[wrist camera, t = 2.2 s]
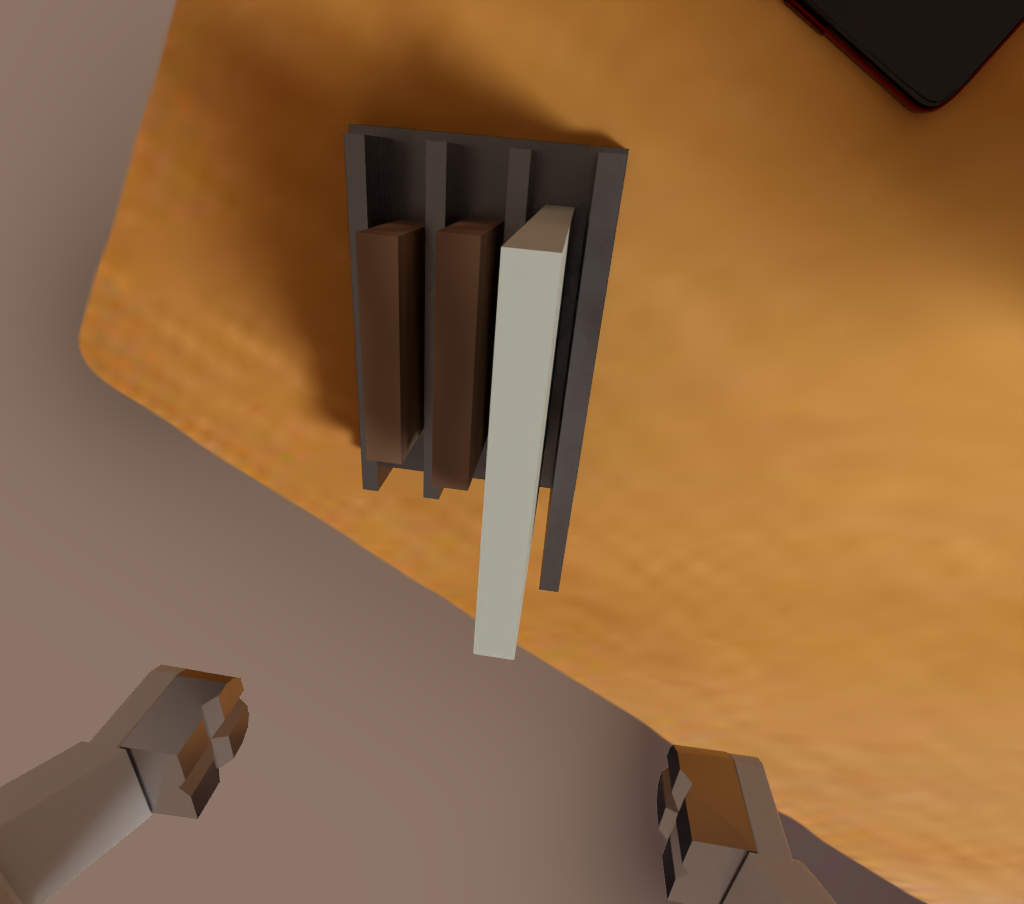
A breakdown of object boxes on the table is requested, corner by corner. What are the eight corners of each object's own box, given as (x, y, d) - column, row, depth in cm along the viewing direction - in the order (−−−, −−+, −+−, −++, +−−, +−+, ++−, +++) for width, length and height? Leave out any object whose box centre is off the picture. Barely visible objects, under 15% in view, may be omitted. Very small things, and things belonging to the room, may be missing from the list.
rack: (626, 149, 30) (650, 140, 19) (574, 480, 40) (570, 601, 29) (358, 125, 31) (232, 103, 20) (372, 454, 41) (293, 560, 30)
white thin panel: (575, 207, 30) (562, 253, 14) (545, 449, 37) (514, 660, 21) (545, 204, 30) (501, 246, 14) (521, 446, 37) (473, 653, 21)
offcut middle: (505, 220, 31) (480, 236, 24) (490, 428, 37) (467, 490, 30) (469, 216, 31) (435, 231, 24) (461, 425, 37) (431, 485, 30)
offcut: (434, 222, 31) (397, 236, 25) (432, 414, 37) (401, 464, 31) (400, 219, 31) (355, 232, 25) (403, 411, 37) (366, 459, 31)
